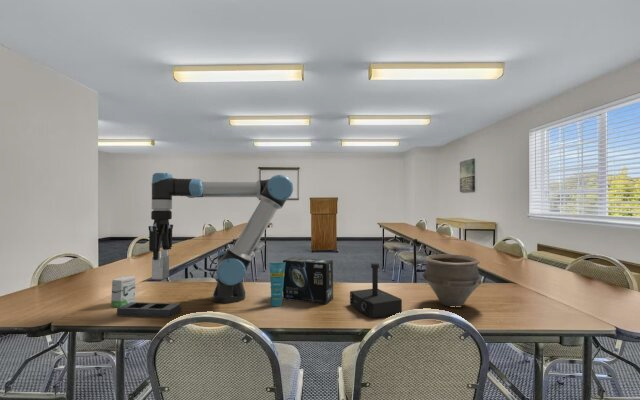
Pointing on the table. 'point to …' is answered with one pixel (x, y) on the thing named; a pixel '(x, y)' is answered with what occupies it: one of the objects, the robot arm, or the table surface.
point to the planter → (452, 277)
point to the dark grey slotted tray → (149, 309)
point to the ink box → (123, 291)
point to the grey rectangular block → (164, 270)
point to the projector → (375, 299)
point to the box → (308, 280)
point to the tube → (277, 282)
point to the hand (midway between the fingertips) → (160, 266)
